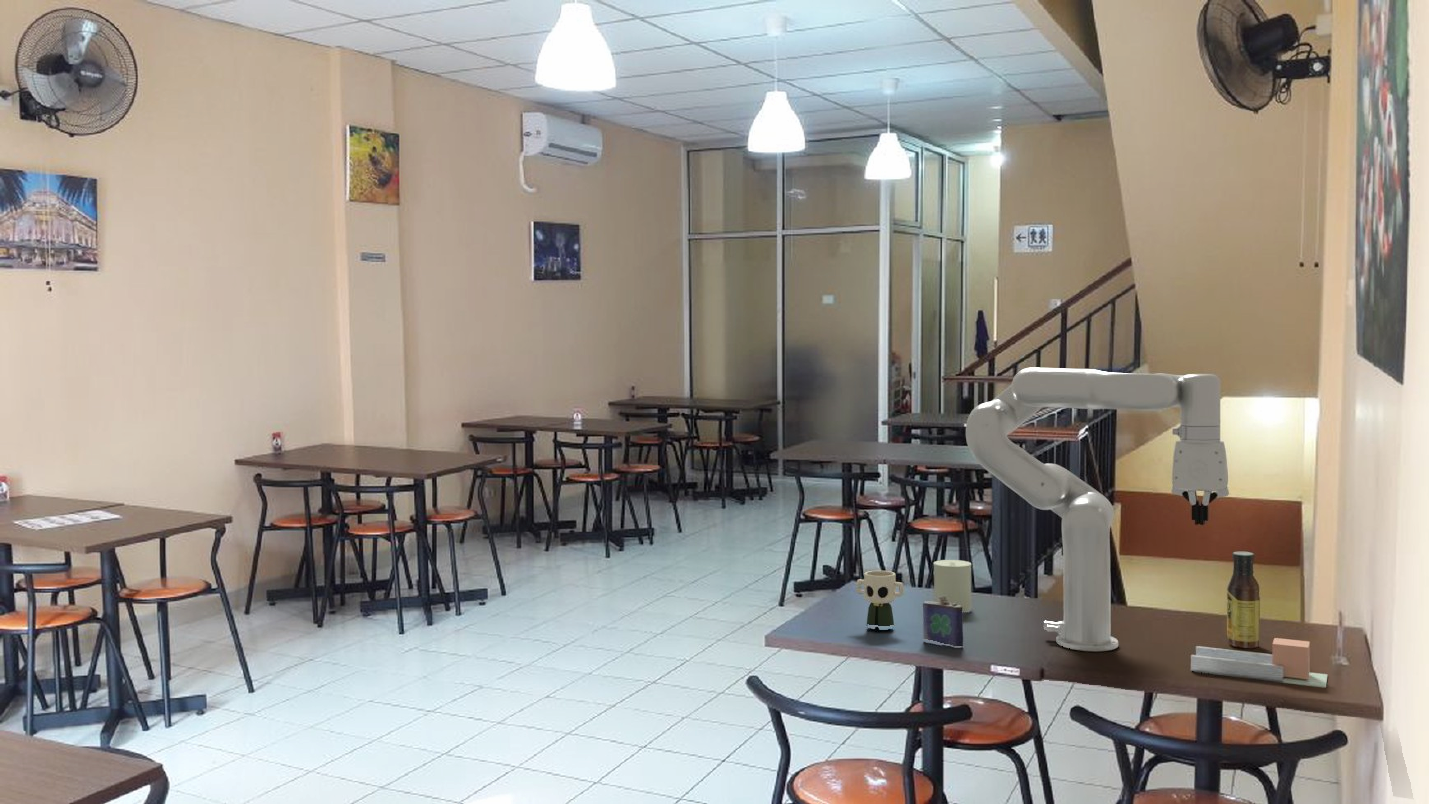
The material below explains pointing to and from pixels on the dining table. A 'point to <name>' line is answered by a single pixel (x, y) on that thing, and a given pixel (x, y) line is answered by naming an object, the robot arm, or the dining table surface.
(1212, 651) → the chute
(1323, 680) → the pad
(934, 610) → the flask
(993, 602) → the dining table surface
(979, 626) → the dining table surface
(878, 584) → the character mug
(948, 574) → the can
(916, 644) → the dining table surface
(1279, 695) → the dining table surface
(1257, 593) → the sauce bottle
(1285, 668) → the block
